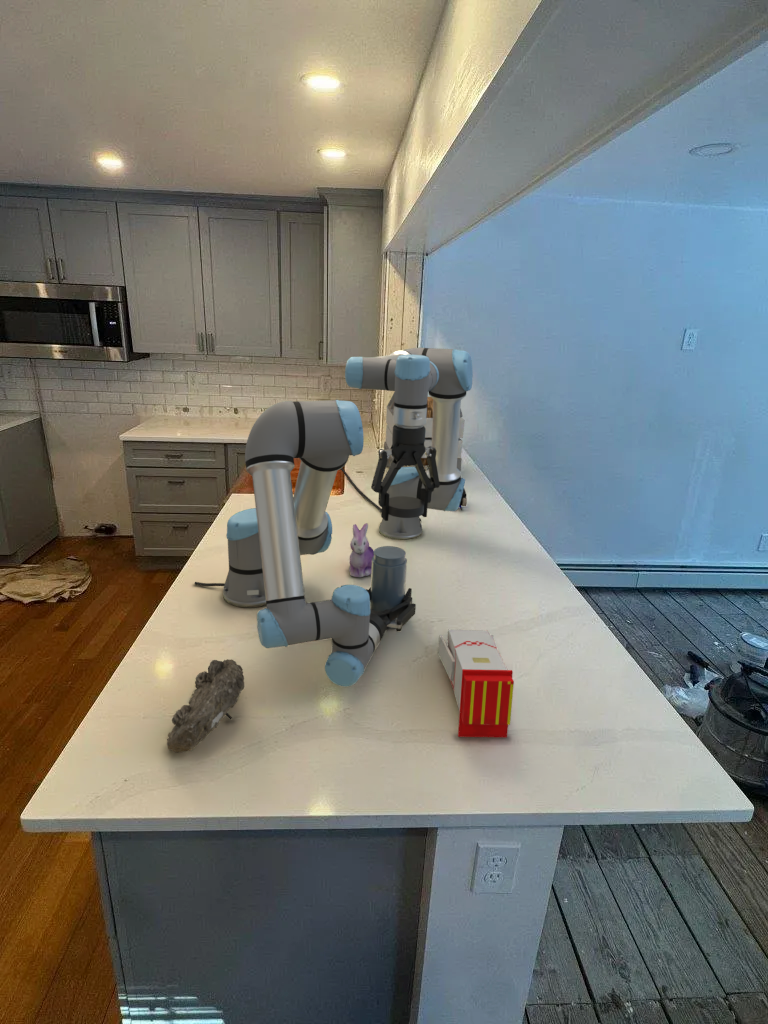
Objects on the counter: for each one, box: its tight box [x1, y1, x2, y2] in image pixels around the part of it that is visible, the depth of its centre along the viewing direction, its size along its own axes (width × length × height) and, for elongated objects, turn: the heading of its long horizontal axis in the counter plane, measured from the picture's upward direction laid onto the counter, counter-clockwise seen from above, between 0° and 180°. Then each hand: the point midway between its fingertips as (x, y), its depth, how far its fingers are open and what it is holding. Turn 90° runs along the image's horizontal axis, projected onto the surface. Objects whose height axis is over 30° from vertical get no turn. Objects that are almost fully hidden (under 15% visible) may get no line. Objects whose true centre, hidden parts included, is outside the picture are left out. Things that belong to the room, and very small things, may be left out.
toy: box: [437, 628, 515, 738], centre depth 117 cm, size 12×13×30 cm
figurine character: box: [459, 488, 468, 511], centre depth 230 cm, size 7×8×15 cm
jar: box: [370, 545, 408, 630], centre depth 141 cm, size 9×9×19 cm
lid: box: [389, 496, 424, 518], centre depth 136 cm, size 9×9×2 cm
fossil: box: [166, 658, 245, 754], centre depth 106 cm, size 22×10×15 cm
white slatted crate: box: [383, 391, 465, 472], centre depth 268 cm, size 34×33×41 cm
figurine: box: [348, 522, 375, 578], centre depth 167 cm, size 9×10×15 cm
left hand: (392, 589), depth 147 cm, fingers closed on jar, 9 cm apart
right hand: (404, 517), depth 137 cm, fingers closed on lid, 9 cm apart
